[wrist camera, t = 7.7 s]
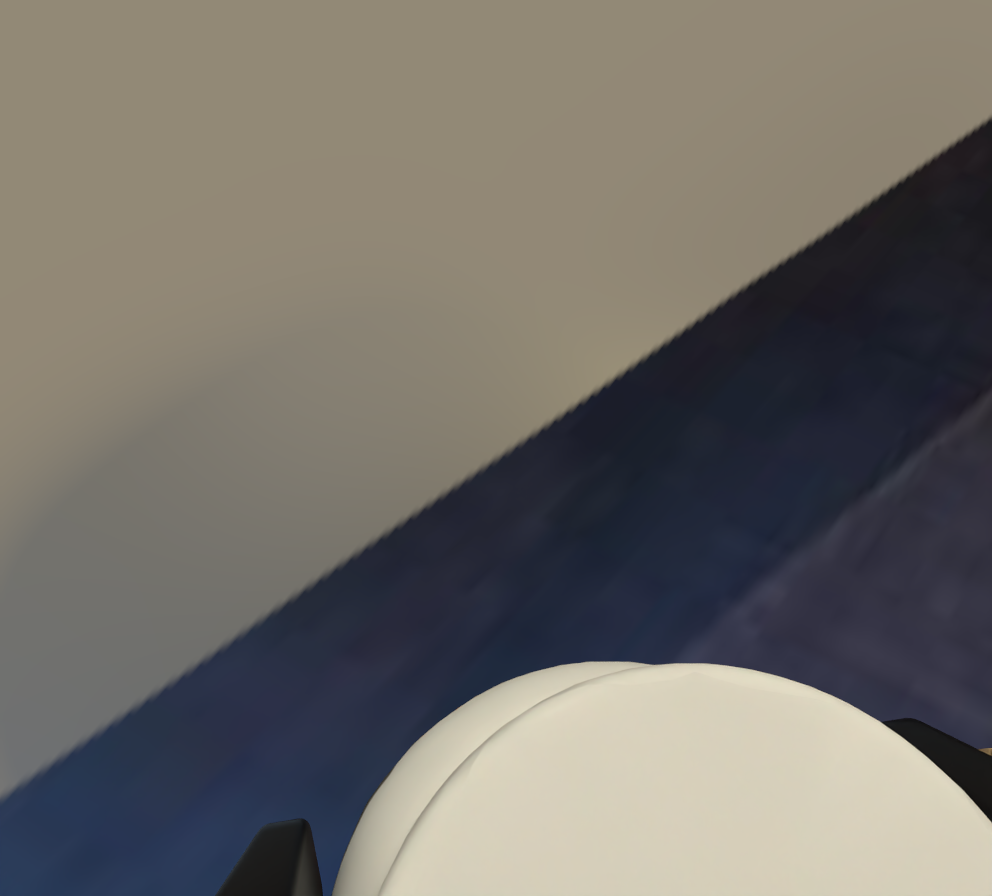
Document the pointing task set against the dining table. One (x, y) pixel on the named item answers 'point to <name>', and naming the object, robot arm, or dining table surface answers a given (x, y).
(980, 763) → the robot arm
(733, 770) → the pill bottle
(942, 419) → the dining table surface
